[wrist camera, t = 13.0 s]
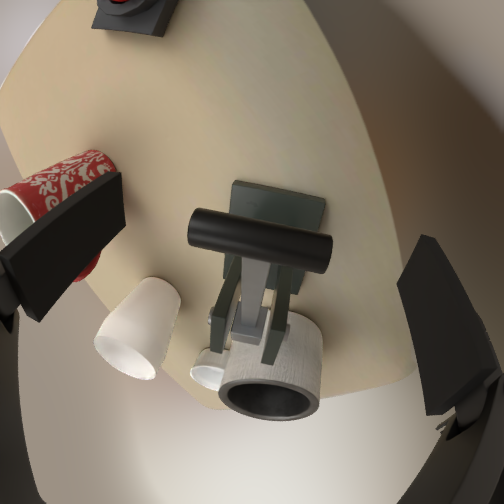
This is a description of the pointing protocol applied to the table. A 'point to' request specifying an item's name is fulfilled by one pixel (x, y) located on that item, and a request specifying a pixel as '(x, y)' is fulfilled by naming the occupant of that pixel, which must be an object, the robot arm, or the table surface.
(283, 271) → the lever bracket
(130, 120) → the table surface
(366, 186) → the table surface
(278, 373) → the planter
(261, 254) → the switch lever
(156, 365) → the cup
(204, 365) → the ramekin
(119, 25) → the switch block
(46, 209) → the mug
